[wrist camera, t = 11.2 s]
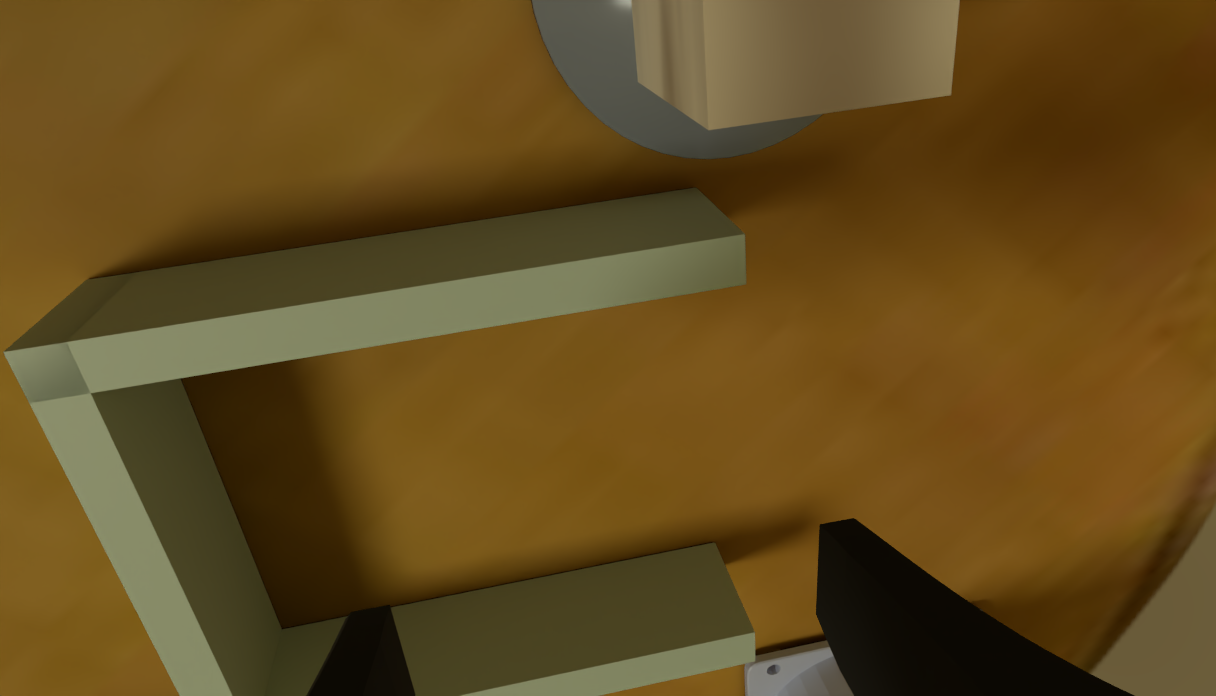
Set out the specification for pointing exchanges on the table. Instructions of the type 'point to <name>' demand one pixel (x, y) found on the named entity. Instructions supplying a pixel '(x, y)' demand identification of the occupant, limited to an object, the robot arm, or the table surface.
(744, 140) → the coaster
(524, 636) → the u-shaped frame
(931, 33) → the block
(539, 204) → the table surface
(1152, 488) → the table surface
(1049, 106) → the table surface
